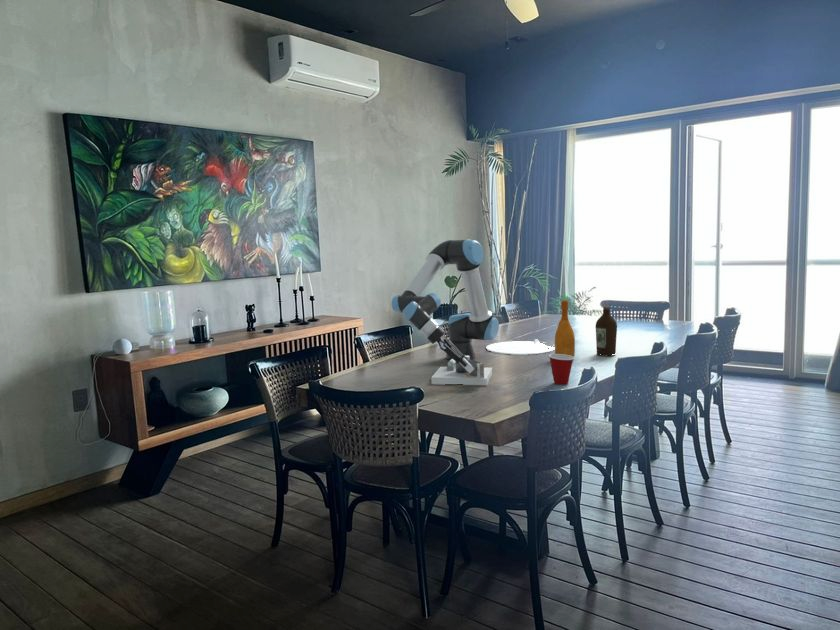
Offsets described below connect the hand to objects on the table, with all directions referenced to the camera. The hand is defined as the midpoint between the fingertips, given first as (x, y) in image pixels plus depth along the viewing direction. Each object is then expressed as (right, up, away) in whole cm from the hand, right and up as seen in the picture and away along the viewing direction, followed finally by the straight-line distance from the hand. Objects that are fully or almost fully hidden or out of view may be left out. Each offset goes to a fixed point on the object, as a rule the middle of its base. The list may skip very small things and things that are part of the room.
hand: (472, 370), depth 259 cm
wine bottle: (+51, +1, +50) cm, 71 cm away
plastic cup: (+38, -5, +1) cm, 38 cm away
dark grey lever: (0, -2, +7) cm, 8 cm away
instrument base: (-3, -5, +15) cm, 16 cm away
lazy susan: (+35, +4, +84) cm, 91 cm away
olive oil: (+74, +3, +59) cm, 95 cm away
